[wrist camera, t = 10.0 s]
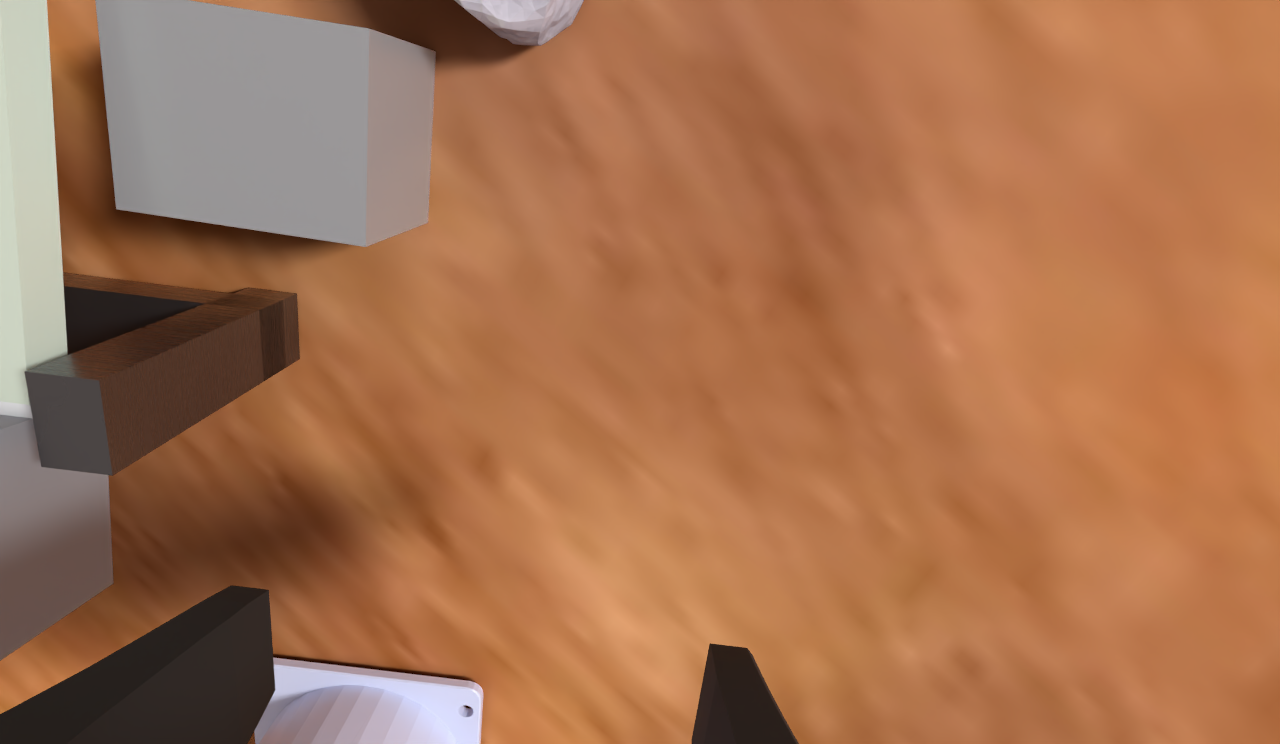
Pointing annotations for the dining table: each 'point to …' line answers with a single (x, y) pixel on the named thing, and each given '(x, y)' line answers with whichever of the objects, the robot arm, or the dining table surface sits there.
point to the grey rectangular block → (266, 120)
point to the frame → (151, 366)
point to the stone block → (524, 18)
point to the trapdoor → (36, 357)
